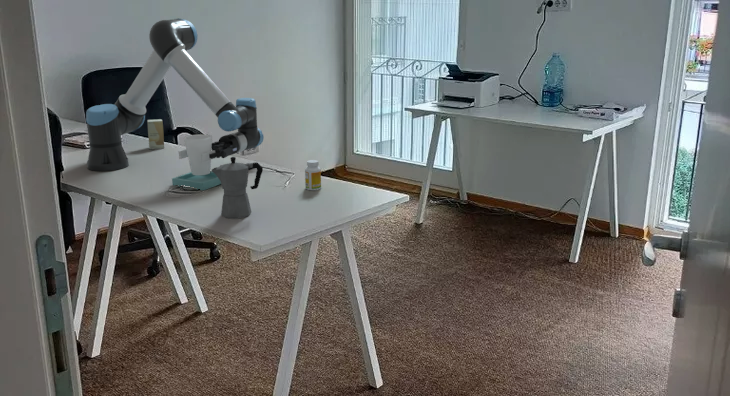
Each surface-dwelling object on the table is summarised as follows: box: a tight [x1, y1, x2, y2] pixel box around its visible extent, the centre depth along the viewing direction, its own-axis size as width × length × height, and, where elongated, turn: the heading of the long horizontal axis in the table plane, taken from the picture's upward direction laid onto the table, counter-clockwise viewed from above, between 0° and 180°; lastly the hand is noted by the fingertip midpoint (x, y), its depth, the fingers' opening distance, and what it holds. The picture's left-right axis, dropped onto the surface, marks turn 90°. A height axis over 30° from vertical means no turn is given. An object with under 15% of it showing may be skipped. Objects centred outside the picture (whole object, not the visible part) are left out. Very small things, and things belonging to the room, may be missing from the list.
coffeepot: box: [211, 156, 264, 220], centre depth 207 cm, size 15×9×18 cm, turn 111°
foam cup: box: [183, 134, 213, 175], centre depth 240 cm, size 10×9×13 cm
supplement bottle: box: [304, 159, 322, 191], centre depth 235 cm, size 5×5×10 cm
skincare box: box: [147, 118, 165, 150], centre depth 295 cm, size 6×4×12 cm
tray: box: [171, 170, 221, 191], centre depth 243 cm, size 14×14×2 cm
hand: (190, 156), depth 236 cm, fingers closed on foam cup, 9 cm apart
